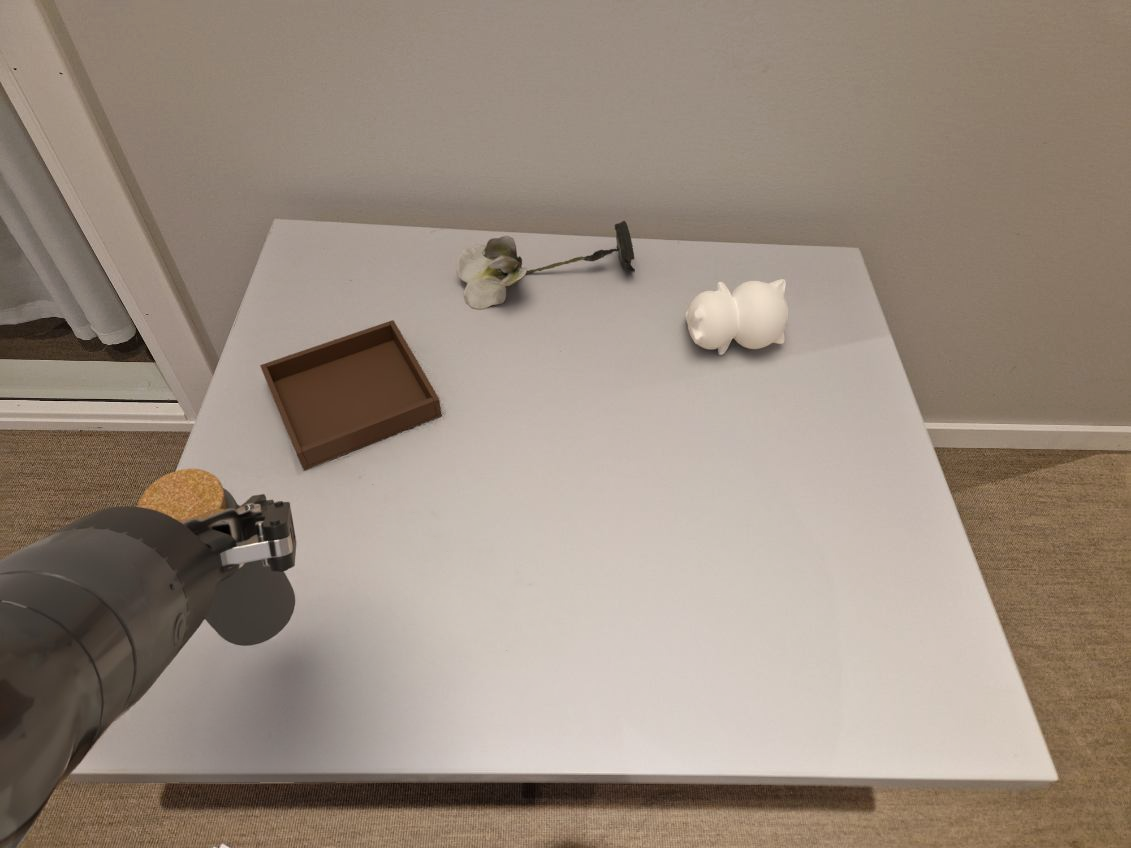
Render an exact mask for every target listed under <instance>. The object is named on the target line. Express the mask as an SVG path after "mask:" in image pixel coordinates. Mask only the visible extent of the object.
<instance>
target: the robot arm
mask: <svg viewBox="0 0 1131 848" xmlns="http://www.w3.org/2000/svg"><path fill="white" fill-rule="evenodd" d="M292 513H293V512H292V508H291V503H290V502H289V501H283V500H279V501H278V500H277V501H275V500H273V499H267V496H266V494H265V493H262V494H255V495H254V494H253V495H251V496H250V497H249V498H248V499H247V500H246V501H245V502H243V503H242V504H241V505H240V507H239V508H238V509H233V508H231V509H213V510H210V511H208V512H205V513H202V514H200V515H197V516H195V517H192V518H190V519H174V518H172V517H171V516H169V515H166V514H164V513H161V512H159V511H156V510H152V509H148V508H143V507H137V506H127V505H125V506H113V507H107V508H103V509H98V510H96V511H93V512H91V513H88V514H86V515H83V516H82V517H80V518H78V519H76V520H74V521H72V522H70V523H68V524H66V525H65V526H62V527H60V528H59V529H56V530H54V531H53V532H51V533H49V534H47V535H46V536H43V537H42V538H40V539H37V540H36V541H34V542H32V543H30V544H28V545H26V546H24V547H22V548H20V549H19V550H17V551H15V552H13V553H11V554H9V555H8V556H5V557H4V558H2V559H0V848H18V847H19V846H20V844H21V842H22V841H23V840H24V839H25V838H26V836H27V834H28V833H29V832H30V830H31V829H32V827H33V826H34V825H35V823H36V821H37V820H38V818H39V817H40V815H41V814H42V812H43V811H44V809H45V808H46V806H47V804H48V802H49V800H50V799H51V797H52V795H53V793H54V792H55V790H57V789H58V788H59V787H60V786H61V785H62V784H63V783H64V782H65V781H66V780H67V779H68V777H69V776H70V775H71V774H72V773H73V772H74V771H75V770H76V769H77V767H78V766H79V765H80V764H81V763H82V761H83V760H84V759H85V758H86V757H87V755H88V754H89V753H90V752H91V751H92V749H93V748H94V747H95V746H96V744H97V743H98V742H99V741H100V740H101V739H102V738H103V736H104V735H105V734H106V732H107V731H108V730H109V729H110V728H111V726H112V725H113V724H115V722H117V720H118V719H120V718H122V716H124V715H125V714H126V713H127V712H129V711H130V710H131V709H132V708H133V707H134V706H135V705H137V703H138V702H139V701H140V700H141V699H142V698H143V697H144V696H145V695H146V694H147V692H148V691H149V690H150V689H151V688H152V687H153V685H155V683H156V682H157V680H158V679H159V678H160V676H162V674H163V673H164V671H166V669H167V668H168V667H169V665H170V664H171V663H172V662H173V661H174V659H175V658H176V656H177V655H178V654H179V653H180V652H181V650H182V649H183V648H184V647H185V645H187V643H188V642H189V640H190V639H191V638H193V636H194V634H195V633H196V632H197V630H199V628H200V627H201V626H202V624H203V623H204V621H205V617H206V615H207V613H208V611H209V609H210V606H211V604H212V601H213V598H214V594H215V591H216V588H217V585H218V583H220V582H222V581H223V580H225V579H228V578H230V577H231V576H233V575H234V574H235V573H236V572H237V571H238V569H239V568H241V567H242V566H243V565H244V564H245V563H247V562H252V561H257V560H262V566H264V567H266V566H270V569H271V571H275V572H276V571H278V572H283V571H284V572H286V571H288V570H290V569H292V568H294V567H295V565H296V554H297V537H296V532H295V526H294V519H293V514H292ZM240 523H241V525H242V531H243V536H244V540H243V541H242V538H241V533H240ZM211 526H212V529H210V528H208V527H211Z"/></svg>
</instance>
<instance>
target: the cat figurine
mask: <svg viewBox="0 0 1131 848" xmlns="http://www.w3.org/2000/svg"><path fill="white" fill-rule="evenodd" d="M786 284H787V281H786V279H784V278H782V279H777V280H773V281H771V282H765V281H761V280H749V281H745V282H743V283H740V284H739V285H738V286H737V287H736V288H735V289H734V290H733V291H732V292H731V291H730V290H729V288H728V287H727V286H726V284H725V283H724V282H722V281H718V282H717V283H716V290H704V291H702V292H700V293H699V294H697V295H696V296H695V297H694V298H693V300H692V301H691V303H690V304H689V306H688V309H687V311H686V312H685V315H684V319H685V321H686V322H687V329H688V330H687V331H688V333H689V335H690V338H691V340H693V342H694V344H695V345H697V346H699V347H701V348H702V349H705V350H717V354H718V355H719V356H723V355H724V354H725V353H726V352H727V350H728V348H729V347H730V344H731V342H732V341H733V340H734V341H735V342H736V343H737V344H739V345H740V346H742V347H743V348H745V349H750V350H759V349H762V348H765V347H768V346H769V345H772V344H778V345H781V344H784V343H785V339H786V338H785V333H784V331H785V328H786V326H787V324H788V320H789V306H788V303H787V301H786V298H785V291H786Z"/></svg>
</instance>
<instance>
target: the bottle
mask: <svg viewBox="0 0 1131 848" xmlns="http://www.w3.org/2000/svg"><path fill="white" fill-rule="evenodd" d="M240 506H241V505H240V504H238V503H237V501H236V499H235V497H234V496H233V495H232V493H231V492H230V491H229V490H228V489H226V488H224V487H223V484H222V483H221V481H220V479H219V478H218V477H217V476H216V475H214V474H213V473H211V472H210V471H207V470H204V469H199V468H184V469H178V470H175V471H172V472H169V473H166V474H165V475H163V476H161V477H159V478H157V480H155V481H154V482H153V483H151V484H150V485H149V486H148V487H147V488H146V489H145V491H144V492H143V494H142V495H141V497H140V498H139V500H138V503H137V506H136V507H143V508H148V509H152V510H156V511H159V512H161V513H164V514H166V515H169V516H171V517H172V518H174V519H190V518H192V517H195V516H197V515H200V514H202V513H205V512H208V511H210V510H213V509H231V508H233V509H238V508H239V507H240ZM208 528H210V529H212V526H211V527H208ZM240 533H241V538H242V541H243V540H244V536H243V531H242V525H241V523H240ZM295 608H296V594H295V591H294V588H293V585H292V583H291V581H290V580H289V577H288V576H287V575H286V572H285V571H283V572H278V571H276V572H275V571H271V569H270V566H266V567H264V566H262V560H257V561H252V562H247V563H245V564H244V565H243V566H242V567H241V568H239V569H238V571H237V572H236V573H235V574H234V575H233V576H231V577H230V578H228V579H225V580H223V581H222V582H220V583H218V585H217V588H216V591H215V594H214V598H213V601H212V604H211V606H210V609H209V611H208V613H207V615H206V617H205V619H204V621H205V622H207V624H209V626H210V627H211V628H212V629H213V630H214V632H215V633H216V634H218V636H220V637H221V638H222V639H223V641H226V642H227V643H230V644H232V645H235V646H241V647H251V646H256V645H260V644H263V643H265V642H267V641H269V640H271V639H273V638H274V637H275V636H277V635H278V634H279V633H281V631H283V630H284V628H285V627H286V626H287V625H288V623H289V622H290V621H291V618H292V616H293V614H294V611H295Z"/></svg>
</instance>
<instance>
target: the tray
mask: <svg viewBox="0 0 1131 848" xmlns="http://www.w3.org/2000/svg"><path fill="white" fill-rule="evenodd" d="M259 366H260V369H261V371H262V374H263V377H264V378H265V379H264V380H265V381H266V383H267V386H268V388H269V389H268V390H269V391H270V393H271V395H272V398H273V401H274V403H275V405H276V408H277V411H278V413H279V415H280V418H281V420H282V423H283V426H284V427H285V429H286V430H285V431H286V433H287V434H288V437H289V439H290V442H291V445H292V447H293V449H294V452H295V454H296V456H297V459H298V461H299V463H300V466H301V468H302V470H303V471H306V470H308V469H311V468H314V467H316V466H319V465H322V464H324V463H327V462H329V461H331V460H334V459H337V458H339V457H342V456H344V455H347V454H349V453H352V452H354V451H355V452H356V451H357V450H360V449H362V448H365V447H367V446H369V445H372V444H375V443H377V442H379V441H382V440H384V439H388V438H391V437H392V436H396V435H398V434H400V433H403V432H405V431H408V430H411V429H413V428H415V427H418V426H420V425H423V424H425V423H428V422H431V421H434V420H435V419H438V418H440V417H443V414H442V409H441V401H440V397H439V396H438V394H437V392H436V391H435V389H434V387H433V386H432V384H431V382H430V381H429V379H428V377H427V376H426V373H425V372H424V370H423V368H422V367H421V364H420V363H419V362H418V359H417V358H416V356H415V355H414V353H413V351H412V349H411V348H410V346H409V344H408V342H407V340H406V339H405V337H404V336H403V333H402V332H401V330H400V328H399V327H398V325H397V323H396V322H395V320H394V319H392V320H389V321H385V322H382V323H380V324H377V325H374V326H372V327H369V328H366V329H362V330H360V331H357V332H353V333H351V334H348V335H345V336H341V337H339V338H336V339H333V340H330V341H327V342H324V343H322V344H319V345H315V346H312V347H309V348H306V349H303V350H300V351H298V352H294V353H292V354H289V355H286V356H282V357H280V358H277V359H275V360H270V361H267V362H265V363H263V364H260V365H259Z"/></svg>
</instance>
